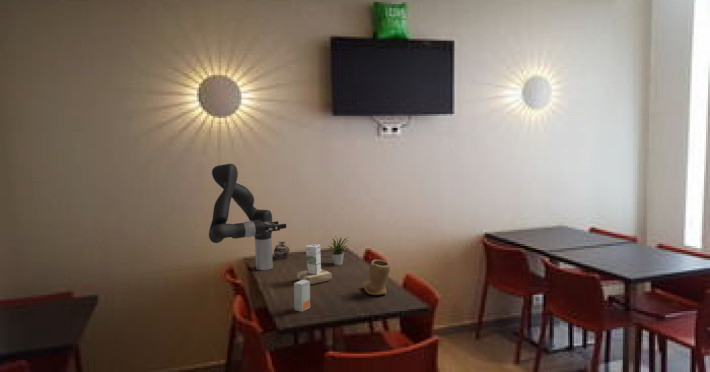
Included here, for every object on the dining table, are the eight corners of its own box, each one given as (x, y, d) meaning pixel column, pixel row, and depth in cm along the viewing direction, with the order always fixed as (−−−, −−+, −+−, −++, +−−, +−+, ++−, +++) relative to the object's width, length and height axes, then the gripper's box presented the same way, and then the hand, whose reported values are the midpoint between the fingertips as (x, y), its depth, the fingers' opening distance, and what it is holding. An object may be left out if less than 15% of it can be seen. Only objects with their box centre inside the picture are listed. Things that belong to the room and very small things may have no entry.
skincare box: (302, 312, 206) (301, 284, 205) (294, 310, 209) (293, 283, 207) (310, 307, 211) (310, 280, 210) (303, 306, 214) (302, 279, 212)
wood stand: (297, 280, 252) (296, 272, 251) (318, 275, 259) (318, 267, 259) (309, 286, 241) (309, 278, 241) (332, 281, 249) (331, 273, 248)
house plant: (357, 262, 283) (356, 234, 281) (344, 268, 271) (343, 239, 270) (336, 259, 291) (336, 232, 289) (323, 265, 279) (322, 237, 277)
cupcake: (274, 256, 301) (273, 240, 300) (290, 255, 302) (289, 239, 301) (273, 260, 292) (272, 244, 291) (289, 259, 293) (289, 243, 292)
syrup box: (321, 271, 252) (320, 244, 250) (316, 275, 246) (315, 246, 245) (311, 270, 254) (310, 243, 252) (306, 274, 248) (305, 246, 246)
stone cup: (392, 295, 224) (392, 263, 223) (367, 297, 223) (366, 265, 221) (386, 285, 239) (385, 255, 238) (362, 287, 237) (361, 257, 236)
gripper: (257, 223, 228) (288, 219, 238) (245, 219, 240) (275, 215, 249) (258, 239, 229) (289, 234, 238) (246, 234, 241) (275, 229, 250)
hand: (282, 224), depth 244 cm, fingers open, 8 cm apart
